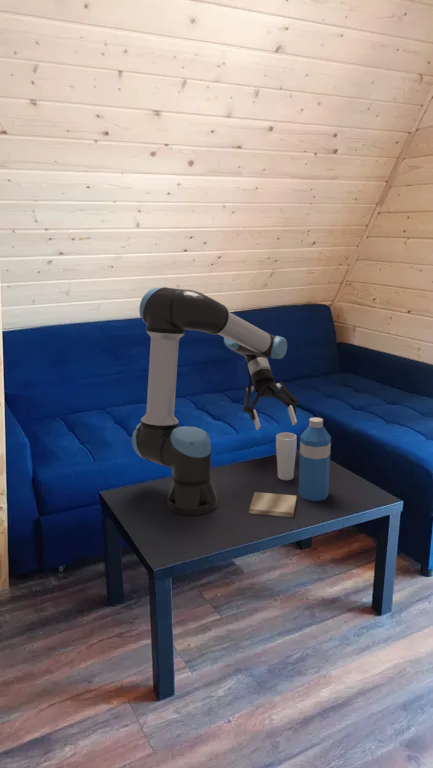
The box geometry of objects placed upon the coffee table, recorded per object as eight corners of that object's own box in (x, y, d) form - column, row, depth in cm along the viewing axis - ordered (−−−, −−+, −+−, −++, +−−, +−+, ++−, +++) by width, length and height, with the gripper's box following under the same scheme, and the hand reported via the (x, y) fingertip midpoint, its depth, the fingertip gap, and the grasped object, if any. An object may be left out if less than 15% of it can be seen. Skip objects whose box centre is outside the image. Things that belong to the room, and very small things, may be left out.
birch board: (249, 513, 173) (249, 508, 172) (254, 496, 183) (254, 492, 183) (293, 517, 170) (293, 512, 169) (296, 500, 180) (296, 495, 180)
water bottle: (327, 488, 188) (330, 414, 181) (329, 501, 179) (333, 425, 172) (298, 487, 189) (300, 414, 182) (299, 500, 180) (301, 424, 173)
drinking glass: (297, 474, 198) (298, 433, 194) (293, 483, 192) (294, 440, 187) (278, 472, 200) (278, 431, 196) (273, 480, 194) (273, 438, 190)
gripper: (289, 375, 217) (306, 426, 207) (225, 381, 209) (240, 434, 200) (295, 364, 210) (313, 416, 201) (230, 370, 203) (245, 425, 193)
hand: (276, 426), depth 200 cm, fingers open, 13 cm apart
